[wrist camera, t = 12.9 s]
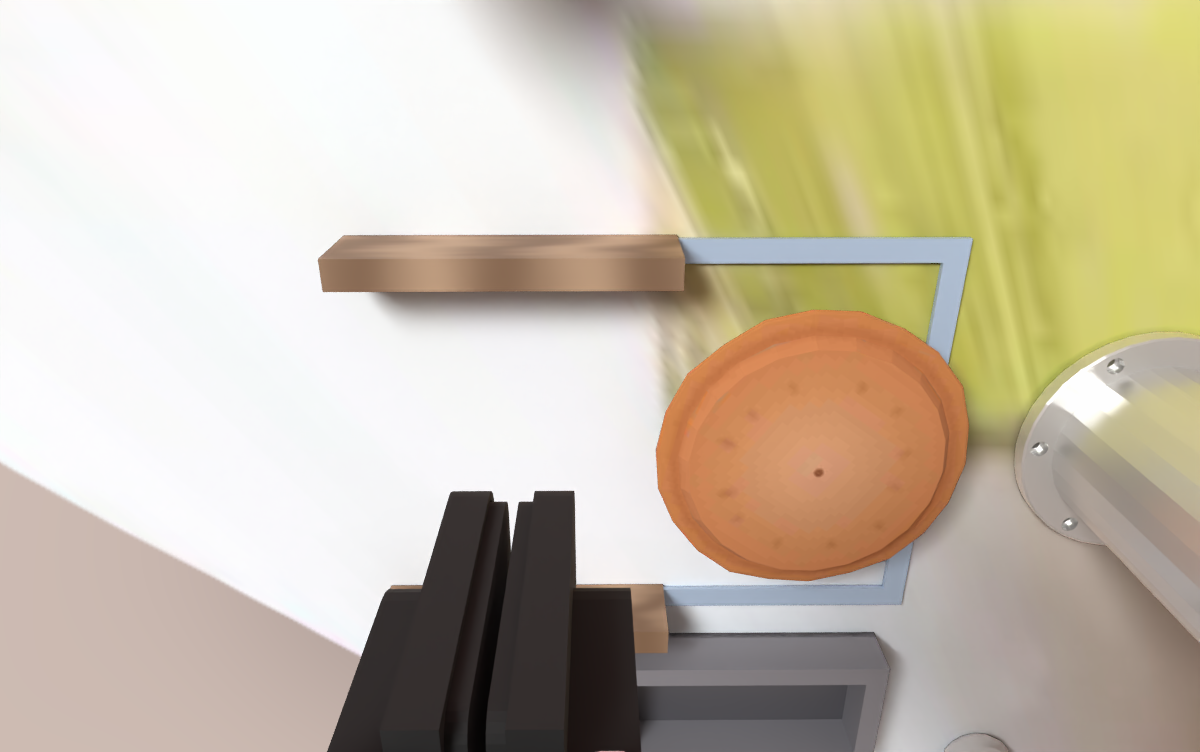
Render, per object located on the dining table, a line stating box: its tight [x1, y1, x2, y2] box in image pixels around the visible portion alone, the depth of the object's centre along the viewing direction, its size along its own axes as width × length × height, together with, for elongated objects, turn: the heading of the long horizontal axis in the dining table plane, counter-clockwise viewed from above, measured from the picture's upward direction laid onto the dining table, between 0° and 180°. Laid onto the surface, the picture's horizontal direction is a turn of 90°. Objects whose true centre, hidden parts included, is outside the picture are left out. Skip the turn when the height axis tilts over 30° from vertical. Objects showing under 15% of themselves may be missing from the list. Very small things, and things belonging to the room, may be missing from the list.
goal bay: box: [663, 237, 973, 606], centre depth 43 cm, size 15×22×1 cm
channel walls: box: [318, 235, 685, 653], centre depth 42 cm, size 16×22×4 cm
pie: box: [656, 310, 969, 581], centre depth 41 cm, size 15×16×5 cm
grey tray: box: [635, 632, 890, 752], centre depth 49 cm, size 16×8×3 cm, turn 90°
